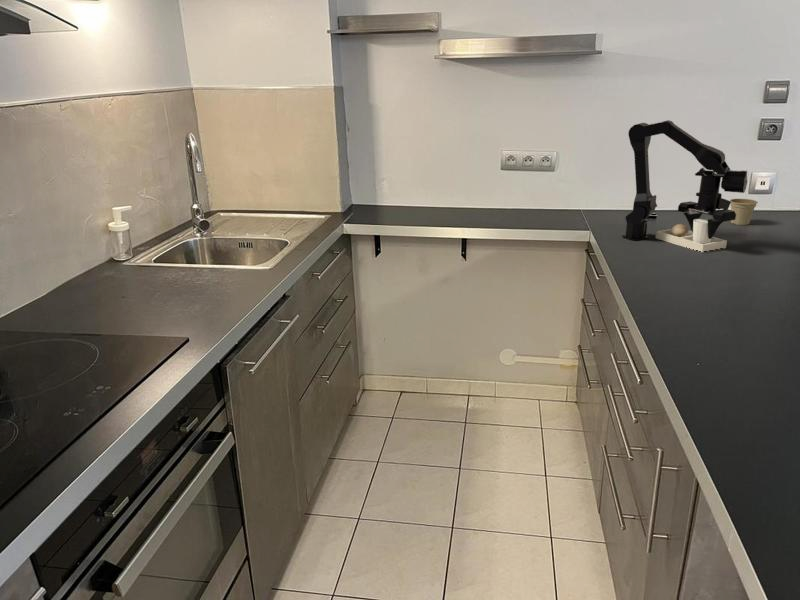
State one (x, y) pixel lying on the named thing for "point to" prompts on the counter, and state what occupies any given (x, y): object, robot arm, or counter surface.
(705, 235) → the white and grey cylinder
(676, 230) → the tan wooden ball
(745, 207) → the flower pot
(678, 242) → the holder
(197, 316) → the counter surface
